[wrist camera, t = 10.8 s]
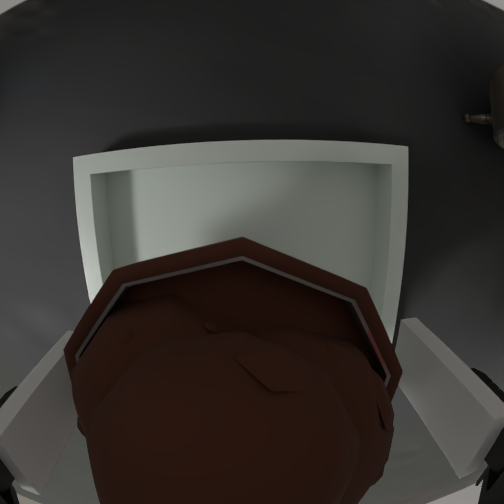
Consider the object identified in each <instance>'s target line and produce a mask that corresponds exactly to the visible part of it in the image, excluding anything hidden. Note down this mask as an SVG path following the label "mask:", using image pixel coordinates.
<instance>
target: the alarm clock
mask: <svg viewBox="0 0 504 504" xmlns="http://www.w3.org/2000/svg"><path fill="white" fill-rule="evenodd" d="M489 92H490V101H491V110H492V113H490V114H477V115H473V116H470V115H469V114H464V116H463V119H464V122H465V123H470V122H475V123H479V124H490V125H492V126H493V139H494V141H495V143H496V144H497V145H498V146H500V147H501V148H502V149H504V63H503V64H502V65H500V66H499V67H498V68H497V69H496V70H495V72H494V73H493V75H492V77H491V79H490V82H489Z"/></svg>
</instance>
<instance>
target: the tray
mask: <svg viewBox="0 0 504 504" xmlns="http://www.w3.org/2000/svg"><path fill="white" fill-rule="evenodd" d="M73 169H74V187H75V200H76V211H77V221H78V230H79V238H80V245H81V252H82V259H83V265H84V271H85V277H86V283H87V288H88V293H89V298H90V303H91V302H92V301H93V299H94V298H95V296H96V295H97V293H98V292H99V290H100V288H101V287H102V285H103V284H104V282H105V281H106V279H107V278H108V276H109V275H110V273H111V272H112V270H114V269H117V268H120V267H123V266H127V265H130V264H133V263H136V262H140V261H144V260H148V259H152V258H156V257H160V256H164V255H168V254H173V253H177V252H181V251H185V250H189V249H193V248H197V247H201V246H205V245H209V244H214V243H218V242H222V241H226V240H230V239H235V238H239V237H245V238H248V239H250V240H253V241H255V242H257V243H260V244H262V245H265V246H267V247H270V248H272V249H275V250H277V251H280V252H282V253H285V254H287V255H289V256H292V257H294V258H297V259H299V260H302V261H304V262H307V263H309V264H311V265H314V266H316V267H319V268H321V269H324V270H326V271H329V272H331V273H333V274H336V275H338V276H341V277H343V278H345V279H348V280H350V281H352V282H354V283H357V284H359V285H361V286H363V287H366V288H367V290H368V292H369V294H370V296H371V298H372V301H373V303H374V305H375V307H376V309H377V312H378V314H379V316H380V318H381V320H382V323H383V325H384V327H385V330H386V332H387V334H388V336H389V339H390V341H391V344H392V340H393V335H394V329H395V323H396V317H397V311H398V304H399V297H400V290H401V282H402V273H403V264H404V254H405V242H406V228H407V210H408V146H399V145H388V144H377V143H363V142H346V141H323V140H238V141H215V142H198V143H184V144H172V145H161V146H151V147H142V148H133V149H125V150H117V151H110V152H103V153H96V154H90V155H84V156H78V157H73Z"/></svg>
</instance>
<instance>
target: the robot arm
mask: <svg viewBox="0 0 504 504" xmlns="http://www.w3.org/2000/svg"><path fill="white" fill-rule="evenodd" d="M73 332H74V331H67V332H66V333H65V334H64V335H63V336H62V337H61V338H60V339H59V341H58V342H57V343H56V344H55V345H54V346H53V347H52V348H51V349H50V350H49V352H48V353H47V354H46V355H45V356H44V357H43V358H42V359H41V361H40V362H39V363H38V364H37V365H36V366H35V367H34V369H33V370H32V371H31V372H30V373H29V374H28V375H27V377H26V378H25V379H24V380H23V381H22V382H21V384H20V385H19V386H18V387H17V386H15V387H14V388H12V389H11V390H9V391H8V392H6V393H5V394H4V396H3V397H2V398H1V399H0V504H19V501H18V498H17V494H16V491H15V489H14V487H13V486H12V482H13V480H14V479H15V480H16V481H17V482H18V483H19V485H20V486H21V487H22V488H23V489H24V490H27V491H29V492H32V493H35V494H37V495H41V493H42V491H43V488H44V486H45V484H46V482H47V480H48V478H49V476H50V474H51V472H52V470H53V468H54V466H55V464H56V462H57V460H58V458H59V456H60V454H61V452H62V450H63V448H64V446H65V444H66V442H67V440H68V439H69V437H70V435H71V433H72V431H73V429H74V427H75V425H76V424H77V418H78V415H77V411H76V408H75V404H74V400H73V396H72V384H71V380H70V376H69V372H68V368H67V364H66V360H65V355H64V351H63V349H64V347H65V346H66V344H67V342H68V340H69V339H70V337H71V335H72V334H73ZM395 353H396V355H397V358H398V360H399V363H400V365H401V368H402V370H403V373H402V375H401V378H400V381H399V383H398V385H399V387H400V388H401V390H402V391H403V393H404V394H405V396H406V397H407V399H408V400H409V402H410V403H411V405H412V406H413V407H414V409H415V410H416V412H417V413H418V415H419V416H420V418H421V420H422V421H423V423H424V424H425V426H426V427H427V429H428V430H429V432H430V433H431V435H432V436H433V438H434V439H435V441H436V442H437V444H438V446H439V447H440V449H441V450H442V452H443V453H444V455H445V457H446V458H447V460H448V461H449V463H450V464H451V466H452V468H453V469H454V471H455V472H456V474H457V476H458V477H459V479H461V478H463V477H465V476H468V475H470V474H472V473H474V472H476V471H477V470H478V468H479V467H480V465H481V464H482V462H483V461H484V460H485V461H486V462H487V464H488V466H487V468H486V469H485V471H484V472H483V474H482V475H481V476H480V478H479V479H478V480H477V482H476V486H478V485H479V484H480V482H481V481H482V480H483V483H482V488H481V493H480V497H479V502H478V504H504V392H503V391H502V390H501V389H500V390H499V387H498V386H497V385H496V384H495V383H493V381H492V380H491V379H490V378H489V377H488V376H487V375H486V374H484V373H483V372H481V371H479V370H477V369H475V368H472V369H470V368H469V367H468V366H467V365H466V364H465V363H464V362H463V361H462V360H461V359H460V358H459V357H458V356H457V355H455V354H454V353H453V352H452V351H451V350H450V349H449V348H448V347H447V346H446V345H445V344H444V343H443V342H442V341H441V340H440V339H439V338H438V337H437V336H435V335H434V334H433V333H432V332H431V331H430V330H429V329H428V328H427V327H426V326H425V325H424V324H423V323H421V322H420V321H419V320H418V319H417V318H416V317H415V318H408V319H401V322H400V327H399V333H398V338H397V343H396V348H395Z"/></svg>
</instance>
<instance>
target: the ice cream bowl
mask: <svg viewBox="0 0 504 504" xmlns="http://www.w3.org/2000/svg"><path fill="white" fill-rule="evenodd" d="M63 351H64V355H65V360H66V364H67V368H68V372H69V376H70V380H71V384H72V396H73V400H74V404H75V408H76V411H77V415H78V418H77V426H78V429H79V430H80V432H81V433H82V435H84V436H85V438H86V442H87V448H88V453H89V459H90V464H91V469H92V474H93V479H94V483H95V487H96V491H97V494H98V498H99V501H100V504H358V502H359V501H360V500H361V499H362V497H363V496H364V494H365V493H366V492H367V490H368V489H369V487H370V486H372V485H374V484H375V483H376V482H377V481H378V480H379V479H380V478H381V477H382V476H383V471H384V465H385V464H386V462H387V460H388V457H389V452H390V447H391V443H392V437H393V432H394V427H393V420H394V412H393V408H392V404H391V401H392V399H393V396H394V394H395V391H396V389H397V386H398V383H399V381H400V378H401V375H402V373H403V370H402V368H401V365H400V363H399V360H398V358H397V355H396V353H395V351H394V348H393V346H392V344H391V341H390V339H389V336H388V334H387V332H386V330H385V327H384V325H383V323H382V320H381V318H380V316H379V314H378V312H377V309H376V307H375V305H374V303H373V301H372V298H371V296H370V294H369V292H368V290H367V288H366V287H363V286H361V285H359V284H357V283H354V282H352V281H350V280H348V279H345V278H343V277H341V276H338V275H336V274H333V273H331V272H329V271H326V270H324V269H321V268H319V267H316V266H314V265H311V264H309V263H307V262H304V261H302V260H299V259H297V258H294V257H292V256H289V255H287V254H285V253H282V252H280V251H277V250H275V249H272V248H270V247H267V246H265V245H262V244H260V243H257V242H255V241H253V240H250V239H248V238H245V237H239V238H235V239H230V240H226V241H222V242H218V243H214V244H209V245H205V246H201V247H197V248H193V249H189V250H185V251H181V252H177V253H173V254H168V255H164V256H160V257H156V258H152V259H148V260H144V261H140V262H136V263H133V264H130V265H127V266H123V267H120V268H117V269H114V270H112V272H111V273H110V275H109V276H108V278H107V279H106V281H105V282H104V284H103V285H102V287H101V288H100V290H99V292H98V293H97V295H96V296H95V298H94V299H93V301H92V302H91V304H90V306H89V307H88V309H87V310H86V312H85V314H84V315H83V317H82V319H81V320H80V322H79V323H78V325H77V327H76V328H75V330H74V332H73V334H72V335H71V337H70V339H69V340H68V342H67V344H66V346H65V347H64V349H63Z"/></svg>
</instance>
